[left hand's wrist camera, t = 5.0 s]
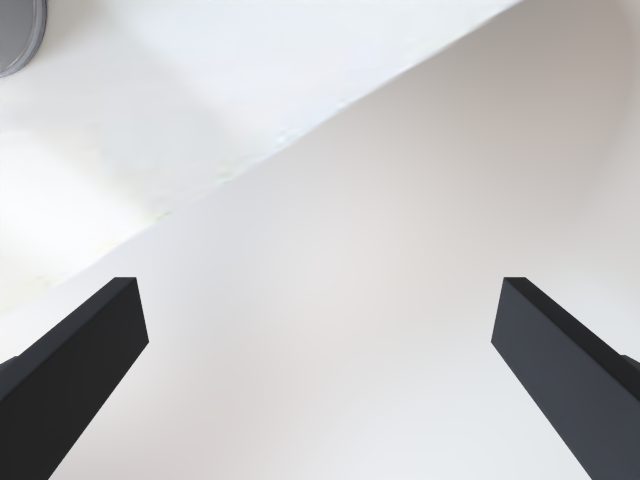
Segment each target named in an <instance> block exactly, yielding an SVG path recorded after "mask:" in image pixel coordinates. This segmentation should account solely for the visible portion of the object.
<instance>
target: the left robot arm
mask: <svg viewBox="0 0 640 480" xmlns="http://www.w3.org/2000/svg"><path fill="white" fill-rule="evenodd" d="M45 22H46V2H45V0H0V78H1V77H5V76H8V75H11V74H13V73H15V72H17V71H18V70H20V69H21V68H22V67H24V66H25V65H26V64H27V63H28V62H29V61H30V60H31V59H32V57H33V56H34V54H35V53H36V51H37V50H38V47H39V45H40V43H41V40H42V37H43V34H44V29H45ZM148 343H149V339H148V334H147V329H146V324H145V319H144V314H143V309H142V304H141V299H140V294H139V289H138V284H137V279H136V277H115V278H113V279H112V280H111V281H110V282H108V283H107V284H106V285H105V286H103V287H102V288H101V289H100V290H99V291H97V292H96V293H95V294H94V295H92V296H91V297H90V298H89V299H88V300H86V301H85V302H84V303H83V304H81V305H80V306H79V307H78V308H77V309H75V310H74V311H73V312H72V313H71V314H69V315H68V316H67V317H66V318H64V319H63V320H62V321H61V322H60V323H58V324H57V325H56V326H55V327H53V328H52V329H51V330H50V331H48V332H47V333H46V334H45V335H44V336H42V337H41V338H40V339H39V340H37V341H36V342H35V343H34V344H33V345H31V346H30V347H29V348H28V349H26V350H25V351H24V352H23V353H22V354H20V355H19V356H15V357H13V358H11V359H9V360H7V361H5V362H4V363H2V364H0V480H48V479H49V478H50V476H51V475H52V474H53V472H54V471H55V469H56V468H57V467H58V465H59V464H60V463H61V461H62V460H63V459H64V457H65V456H66V454H67V453H68V452H69V450H70V449H71V448H72V446H73V445H74V443H75V442H76V441H77V440H78V438H79V437H80V435H81V434H82V433H83V431H84V430H85V429H86V427H87V426H88V425H89V423H90V422H91V420H92V419H93V418H94V416H95V415H96V414H97V412H98V411H99V409H100V408H101V407H102V405H103V404H104V403H105V401H106V400H107V399H108V397H109V396H110V395H111V393H112V392H113V390H114V389H115V388H116V386H117V385H118V384H119V382H120V381H121V380H122V378H123V377H124V376H125V374H126V373H127V371H128V370H129V369H130V367H131V366H132V364H133V363H134V362H135V361H136V359H137V358H138V356H139V355H140V354H141V352H142V351H143V350H144V348H145V347H146V346H147V344H148ZM491 343H492V344H493V346H494V347H495V348H496V350H497V351H498V352H499V354H500V355H501V356H502V358H503V359H504V361H505V362H506V363H507V365H508V366H509V367H510V369H511V370H512V371H513V373H514V374H515V375H516V377H517V378H518V380H519V381H520V382H521V384H522V385H523V386H524V388H525V389H526V390H527V392H528V393H529V395H530V396H531V397H532V399H533V400H534V401H535V403H536V404H537V405H538V407H539V408H540V410H541V411H542V412H543V414H544V415H545V416H546V418H547V419H548V420H549V422H550V423H551V425H552V426H553V427H554V429H555V430H556V431H557V433H558V434H559V435H560V437H561V438H562V439H563V441H564V442H565V444H566V445H567V446H568V448H569V449H570V450H571V452H572V453H573V454H574V456H575V457H576V459H577V460H578V461H579V463H580V464H581V465H582V467H583V468H584V469H585V471H586V472H587V474H588V475H589V476H590V478H591V479H592V480H640V363H639V362H637V361H636V360H634V359H632V358H630V357H628V356H626V355H620V354H618V353H617V352H616V351H615V350H614V349H612V348H611V347H610V346H609V345H607V344H606V343H605V342H604V341H603V340H601V339H600V338H599V337H598V336H596V335H595V334H594V333H593V332H591V331H590V330H589V329H588V328H587V327H585V326H584V325H583V324H582V323H581V322H579V321H578V320H577V319H576V318H574V317H573V316H572V315H571V314H570V313H568V312H567V311H566V310H565V309H563V308H562V307H561V306H560V305H559V304H557V303H556V302H555V301H554V300H552V299H551V298H550V297H549V296H547V295H546V294H545V293H544V292H543V291H541V290H540V289H539V288H538V287H537V286H535V285H534V284H533V283H532V282H530V281H529V280H528V279H527V278H525V277H504V279H503V284H502V289H501V294H500V299H499V304H498V309H497V314H496V319H495V324H494V329H493V334H492V339H491Z"/></svg>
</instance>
